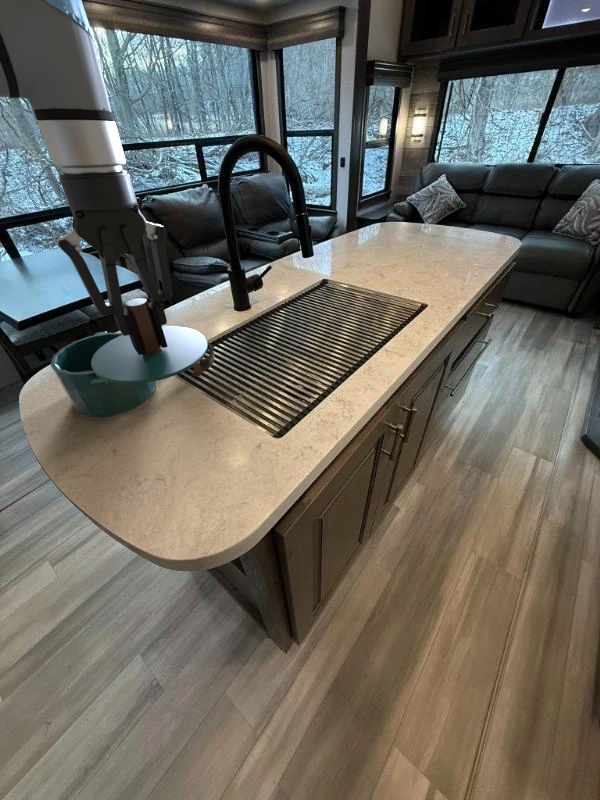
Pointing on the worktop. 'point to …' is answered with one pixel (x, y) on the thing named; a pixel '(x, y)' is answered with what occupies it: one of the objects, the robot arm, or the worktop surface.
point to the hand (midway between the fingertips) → (150, 347)
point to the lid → (148, 351)
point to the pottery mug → (204, 362)
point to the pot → (95, 380)
